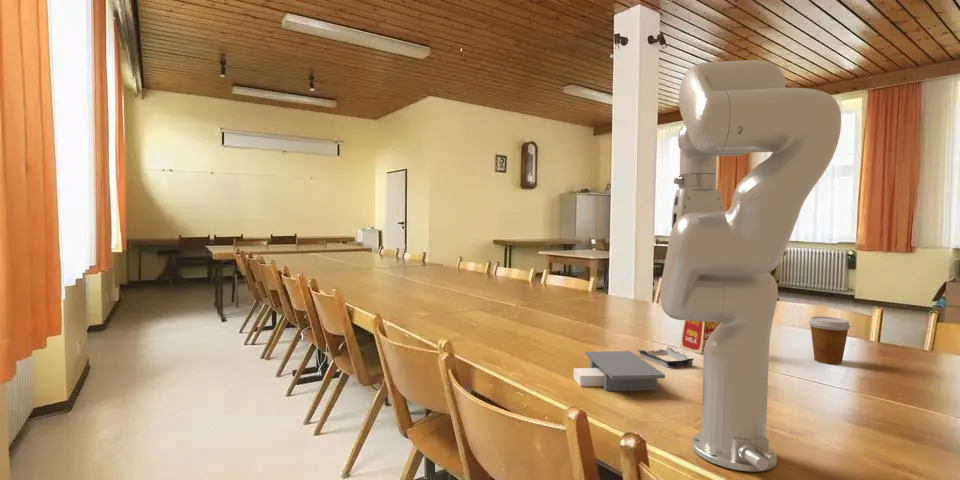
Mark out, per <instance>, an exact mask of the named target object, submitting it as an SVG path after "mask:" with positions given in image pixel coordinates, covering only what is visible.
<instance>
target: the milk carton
mask: <svg viewBox="0 0 960 480" xmlns="http://www.w3.org/2000/svg"><path fill="white" fill-rule="evenodd" d="M683 322H684V323H683V327H682V332H681V338H680V343H679V349H682V350H685V351H688V352H691V353H692V352H693V353H696V354H700V355H702V354H703V355H704V347H705V344H706V341H707V339H708V338H709V336H710V335H711V333H712V332H713V331H714V330H715V329H716V328H717V326H718V325H719V324H720V323H717V322H705V321H686V320H683Z"/></svg>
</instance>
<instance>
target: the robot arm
mask: <svg viewBox="0 0 960 480" xmlns="http://www.w3.org/2000/svg"><path fill="white" fill-rule="evenodd" d="M678 106H679V112H680V116H681V118H682V120H683V123H684V124H683V125H682V127H681V128H680V129H679V130H678V135H677V136H678V137H677V144H678V145H677V146H678V148H679V149H680V150H679V175H678V177H675V178H673V183H674V185H678V189H676V191H675V195H674V200H673V206H672V213H671V231H670V234H669V238H668V239H669V240H668V245H667V249H666V255H665V261H664V266H663V272H662V276H661V277H662V278H661V283H660V293H659V295H660V296H659V297H660V304H661V307H662V308H661V309H662V310H663V312H664V313H665V315H667V316H668V317H669V318H672V319H674V320H678V321H685V320H686V321H705V322H717V323H720V324H719V325H718V326H717V328H716V329H715V330H714V331H713V332H712V333H711V335H710V336H709V338H708V339H707V341H706V344H705V347H704V354H703V368H702V369H703V370H702V407H701V410H702V411H701V412H702V413H701V416H702V417H701V431H700V432H698V433H696V434H694V435H693V436H692V437H691V448H692V450H693V451H694V453H696V454H697V455H698V456H699V457H700V458H702V459H703V460H705V461H707V462H709V463H711V464H713V465H717V466H720V467H722V468H726V469H729V470H730V469H731V470H735V471H741V472H752V473H753V472H754V473H756V472H765V471H768V470H771V469H773V468H774V467H776V466H777V462H778V458H777V457H778V456H777V454H776V452H775V451H774V450H773V448H771V447H770V445H769V442H770V440H769V438H767V421H768V419H767V417H768V391H769V390H768V388H769V359H770V357H769V354H770V342H771V341H770V340H771V332H772V325H773V321H774V315H775V313H776V312H775V311H776V309H777V308H776V307H777V302H778V295H779V293H778V292H779V289H778V284H777V282H776V279H775V278H774V276H773V275H772V274H771V273H770V272H772V271H774V270H775V269H776V268H777V267H778V265H779V264H780V263H781V261H782V258H783V256H784V254H785V251H786V249H787V246H788V245H789V243H790V239H791V236H792V234H793V231H794V228H795V226H796V223H797V221H798V219H799V215H800V212H801V209H802V207H803V205H804V203H805V200H806V199H807V198H808V196H809V195H810V193H811V192H812V190H813V189H814V188H815V186H816V185H817V184H818V182H819V181H820V179H821V177H822V176H823V175H824V173H825V171H826V170H827V169H828V167H829V165H830V163H831V162H832V160H833V157H834V155H835V152H836V150H837V147H838V145H839V142H840V141H839V140H840V135H841V129H842V114H841V113H842V112H841V108H840V104H839V103H838V101H837V99H836V98H835V97H834V96H833V95H831V94H829V93H828V92H825V91H822V90H819V89H814V88H807V87H786V77H785V74H784V73H783V71H782V69H781V68H780V67H779V66H777V65H776V64H774V63H772V62H770V61H767V60H762V59H761V60H760V59H747V60H742V59H741V60H730V61H729V60H728V61H727V60H725V61H710V62H700V63H698V64H695V65H693V67H691V68H689V70H688V71H687V72H686V73H685V75H684V77H683V79H682V81H681V83H680V85H679V91H678ZM750 153H752V154H753V153H771V155H769V157H768V158H766V159H765V160H763V161H762V162H761V163H759V164H758V165H756V166H755V167H753V169H751V170H750V171H749V172H748V173H747V174H746V175H745V176H744V177H743V178H742V179H741V180H740V181H739V183H737V185H736V187H735V189H734V193H733V196H732V201H731V204H730V207H729V209H728V210H726V211H725V210H724V205H723V204H724V203H723V202H724V201H723V198H722V194H721V193H722V192H721V189H717V167H718V165H717V163H718V157H725V156H726V157H727V156H728V157H731V156H732V157H733V156H734V157H736V156H739V157H740V156H745V155H747V154H750Z"/></svg>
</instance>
